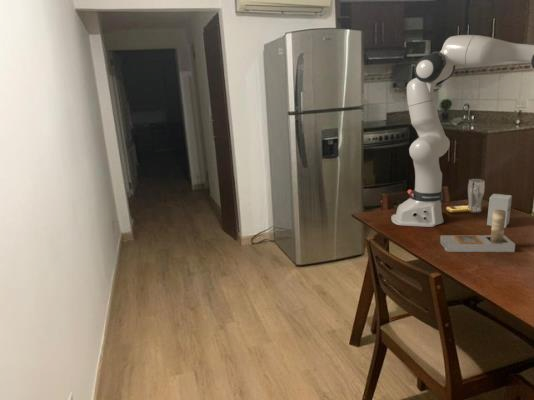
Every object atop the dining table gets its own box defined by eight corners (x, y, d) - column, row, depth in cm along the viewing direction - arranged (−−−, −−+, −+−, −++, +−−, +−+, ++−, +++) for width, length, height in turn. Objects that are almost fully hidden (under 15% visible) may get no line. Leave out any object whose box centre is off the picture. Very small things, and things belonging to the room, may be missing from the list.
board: (446, 251, 145) (447, 243, 144) (440, 242, 153) (440, 234, 152) (514, 251, 141) (515, 243, 140) (503, 242, 149) (504, 234, 148)
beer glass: (481, 209, 190) (483, 179, 186) (483, 213, 184) (486, 182, 180) (465, 208, 193) (467, 178, 189) (467, 212, 186) (469, 182, 182)
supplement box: (506, 228, 164) (509, 199, 160) (486, 225, 168) (488, 197, 165) (509, 223, 169) (512, 195, 166) (490, 220, 174) (492, 193, 171)
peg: (492, 249, 144) (495, 213, 141) (488, 245, 148) (491, 209, 144) (503, 249, 144) (507, 212, 140) (499, 245, 147) (503, 209, 144)
